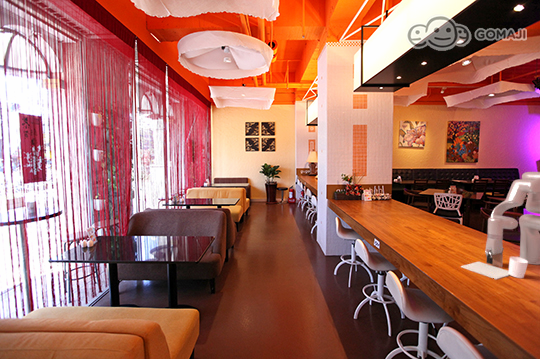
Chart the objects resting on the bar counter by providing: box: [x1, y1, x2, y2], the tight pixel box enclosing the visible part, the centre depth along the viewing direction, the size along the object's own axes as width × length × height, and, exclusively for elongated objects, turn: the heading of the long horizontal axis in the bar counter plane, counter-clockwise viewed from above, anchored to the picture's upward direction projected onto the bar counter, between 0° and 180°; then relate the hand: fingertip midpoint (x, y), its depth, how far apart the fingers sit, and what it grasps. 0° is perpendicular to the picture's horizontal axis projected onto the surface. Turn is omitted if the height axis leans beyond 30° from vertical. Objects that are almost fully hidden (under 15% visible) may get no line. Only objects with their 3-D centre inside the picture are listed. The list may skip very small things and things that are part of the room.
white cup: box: [508, 256, 529, 279], centre depth 157 cm, size 8×8×10 cm
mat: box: [460, 261, 511, 281], centre depth 167 cm, size 18×20×1 cm
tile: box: [485, 254, 504, 269], centre depth 174 cm, size 2×8×8 cm, turn 22°
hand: (494, 262), depth 174 cm, fingers open, 9 cm apart
